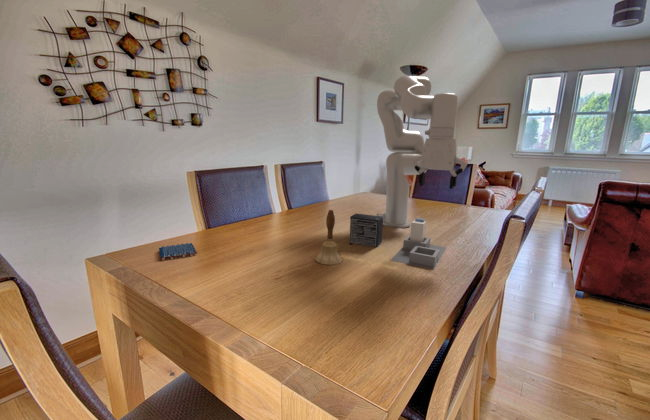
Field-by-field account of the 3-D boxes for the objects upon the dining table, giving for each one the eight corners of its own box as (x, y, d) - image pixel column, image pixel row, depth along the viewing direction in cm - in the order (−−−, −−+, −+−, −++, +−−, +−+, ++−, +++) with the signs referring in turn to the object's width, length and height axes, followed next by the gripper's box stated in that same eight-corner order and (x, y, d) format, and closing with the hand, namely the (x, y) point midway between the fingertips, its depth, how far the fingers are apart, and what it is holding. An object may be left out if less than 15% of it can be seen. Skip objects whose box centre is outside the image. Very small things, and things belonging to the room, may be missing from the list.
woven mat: (198, 257, 100) (197, 251, 99) (160, 263, 94) (159, 256, 94) (193, 247, 108) (193, 241, 108) (158, 252, 103) (158, 246, 103)
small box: (382, 244, 114) (384, 215, 111) (377, 249, 108) (379, 220, 106) (354, 239, 118) (356, 212, 116) (348, 244, 112) (349, 216, 110)
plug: (409, 247, 108) (411, 220, 106) (412, 244, 111) (414, 217, 109) (421, 249, 106) (423, 221, 104) (423, 246, 109) (426, 219, 107)
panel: (390, 262, 97) (390, 250, 96) (409, 242, 115) (409, 233, 115) (433, 272, 90) (435, 259, 90) (446, 249, 109) (447, 239, 108)
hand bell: (345, 257, 101) (347, 208, 97) (337, 266, 93) (339, 214, 89) (321, 253, 103) (321, 206, 100) (311, 262, 96) (312, 211, 92)
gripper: (411, 133, 103) (407, 185, 106) (468, 134, 93) (461, 191, 97) (418, 134, 109) (414, 183, 113) (472, 134, 100) (466, 188, 103)
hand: (436, 187), depth 105 cm, fingers open, 9 cm apart
